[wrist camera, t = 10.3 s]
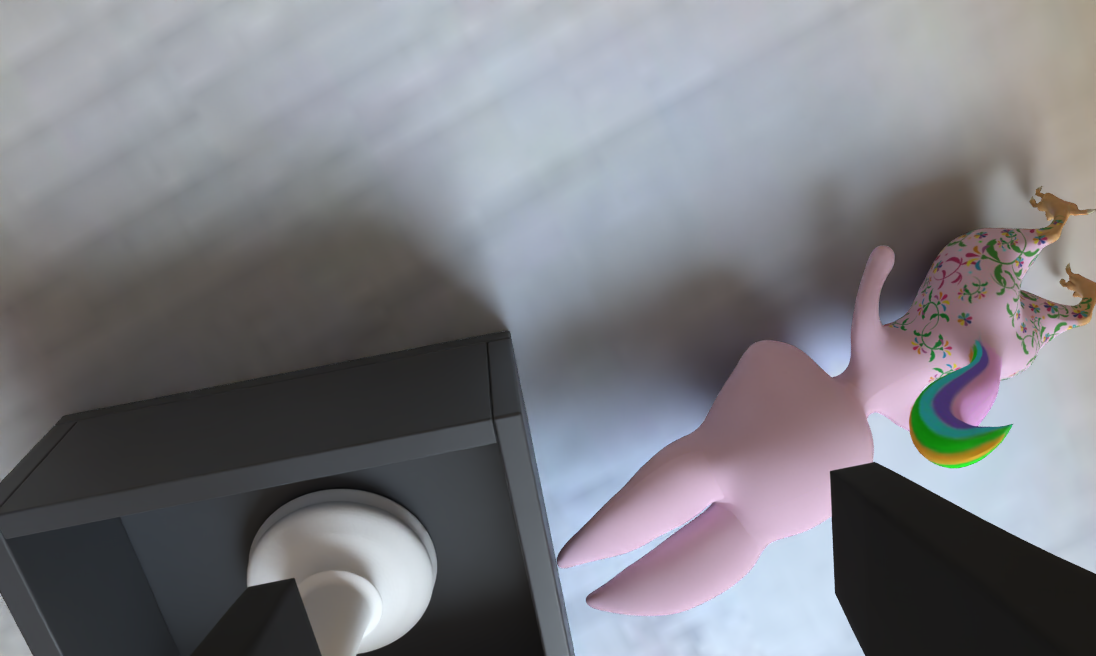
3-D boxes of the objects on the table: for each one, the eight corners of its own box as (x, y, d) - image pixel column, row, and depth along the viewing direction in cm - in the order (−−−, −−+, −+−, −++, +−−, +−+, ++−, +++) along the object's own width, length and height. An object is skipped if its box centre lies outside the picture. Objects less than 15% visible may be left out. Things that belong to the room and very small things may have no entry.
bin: (207, 743, 25) (156, 894, 21) (62, 415, 21) (-39, 522, 16) (577, 668, 25) (600, 801, 21) (509, 329, 21) (522, 411, 17)
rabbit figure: (971, 129, 21) (491, 464, 21) (1192, 146, 16) (547, 602, 15) (1045, 318, 24) (614, 625, 23) (1262, 391, 18) (701, 797, 18)
